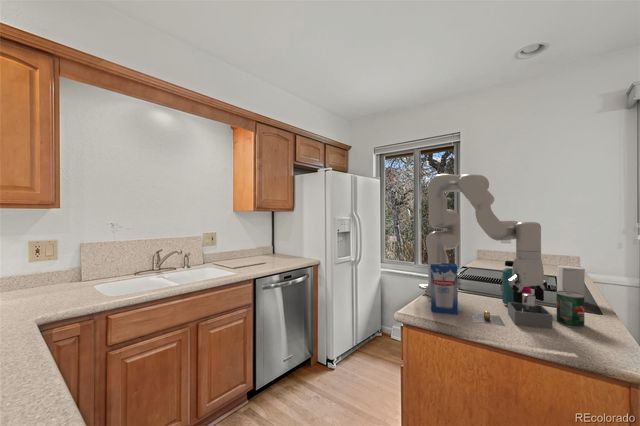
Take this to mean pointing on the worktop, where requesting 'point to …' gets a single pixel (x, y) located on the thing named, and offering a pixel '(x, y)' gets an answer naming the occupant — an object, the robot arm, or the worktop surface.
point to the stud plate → (492, 319)
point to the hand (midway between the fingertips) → (528, 301)
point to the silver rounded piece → (528, 303)
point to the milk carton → (444, 288)
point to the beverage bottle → (506, 289)
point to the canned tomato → (570, 309)
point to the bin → (530, 316)
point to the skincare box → (570, 279)
